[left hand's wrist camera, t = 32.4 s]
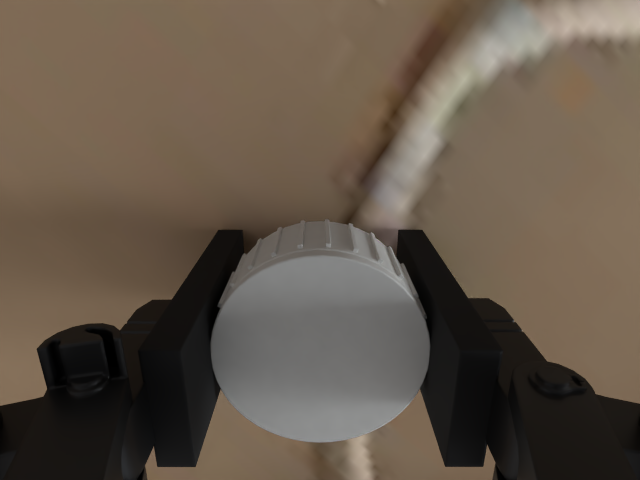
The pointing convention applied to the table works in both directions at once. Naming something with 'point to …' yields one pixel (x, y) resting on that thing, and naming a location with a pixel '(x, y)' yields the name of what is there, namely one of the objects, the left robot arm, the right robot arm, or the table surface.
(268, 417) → the lid
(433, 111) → the table surface
